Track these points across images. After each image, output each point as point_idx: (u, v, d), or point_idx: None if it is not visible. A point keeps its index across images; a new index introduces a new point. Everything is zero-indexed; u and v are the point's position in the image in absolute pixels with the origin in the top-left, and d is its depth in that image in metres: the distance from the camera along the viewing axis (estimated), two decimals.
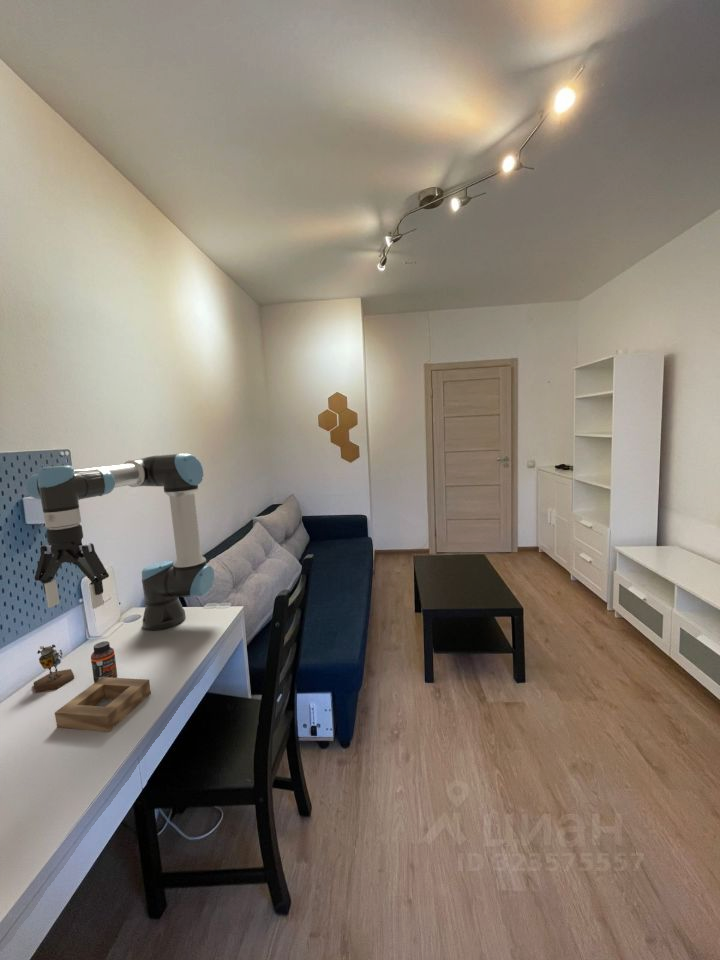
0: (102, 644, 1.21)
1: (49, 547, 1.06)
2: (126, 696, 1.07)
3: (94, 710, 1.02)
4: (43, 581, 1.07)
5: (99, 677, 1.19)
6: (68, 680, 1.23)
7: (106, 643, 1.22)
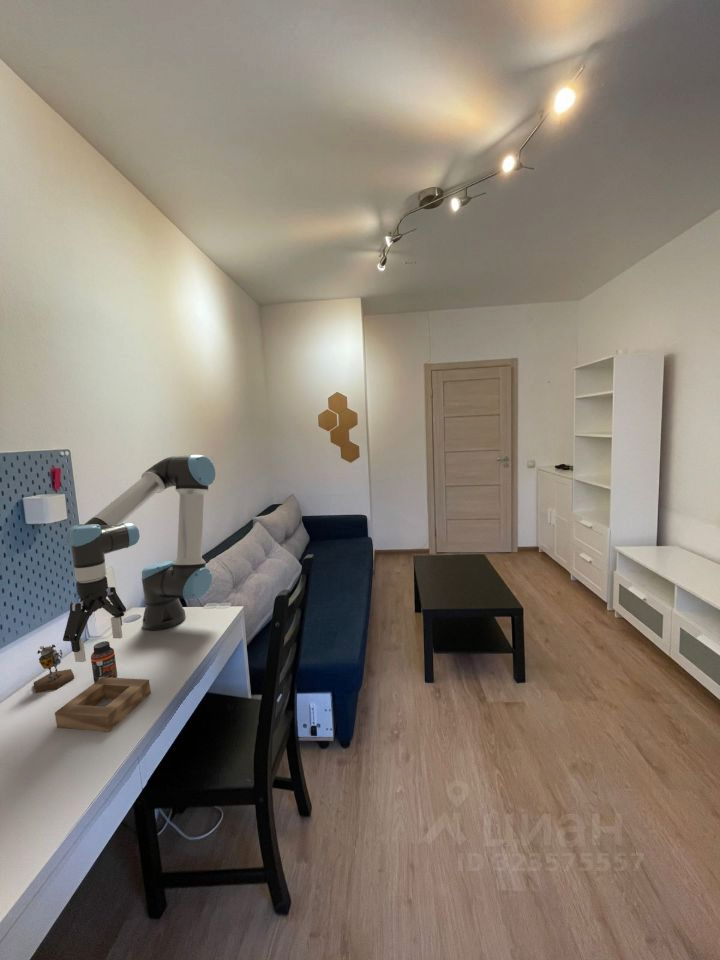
0: (101, 644, 1.21)
1: None
2: (126, 696, 1.07)
3: (94, 710, 1.02)
4: None
5: (99, 677, 1.19)
6: (68, 680, 1.23)
7: (106, 643, 1.22)
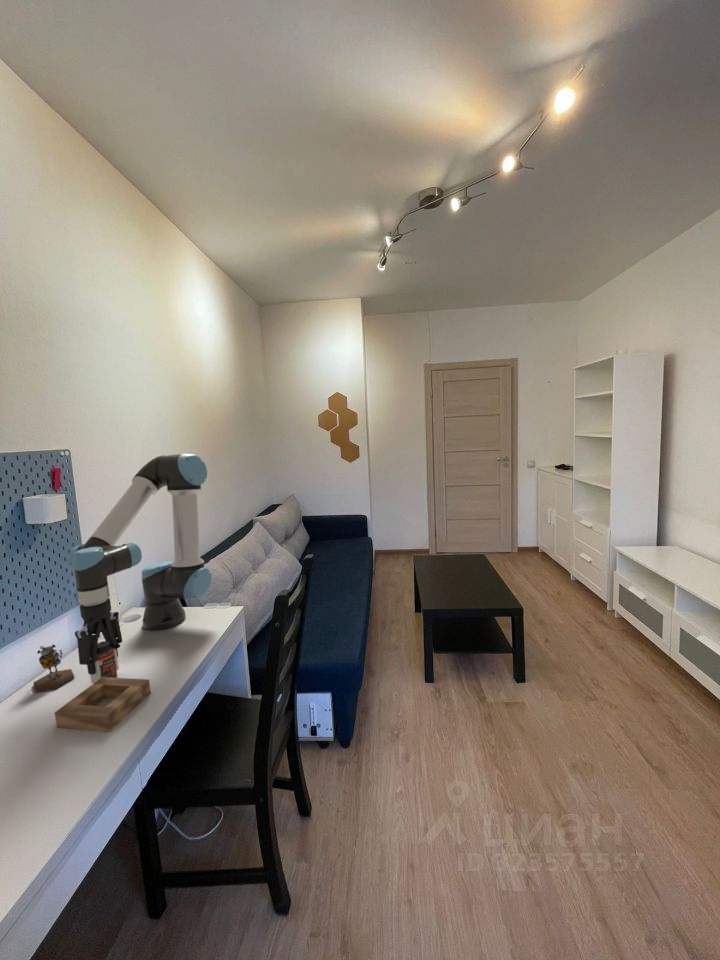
0: (101, 644, 1.21)
1: None
2: (126, 696, 1.07)
3: (94, 710, 1.02)
4: None
5: None
6: (68, 680, 1.23)
7: (106, 643, 1.22)
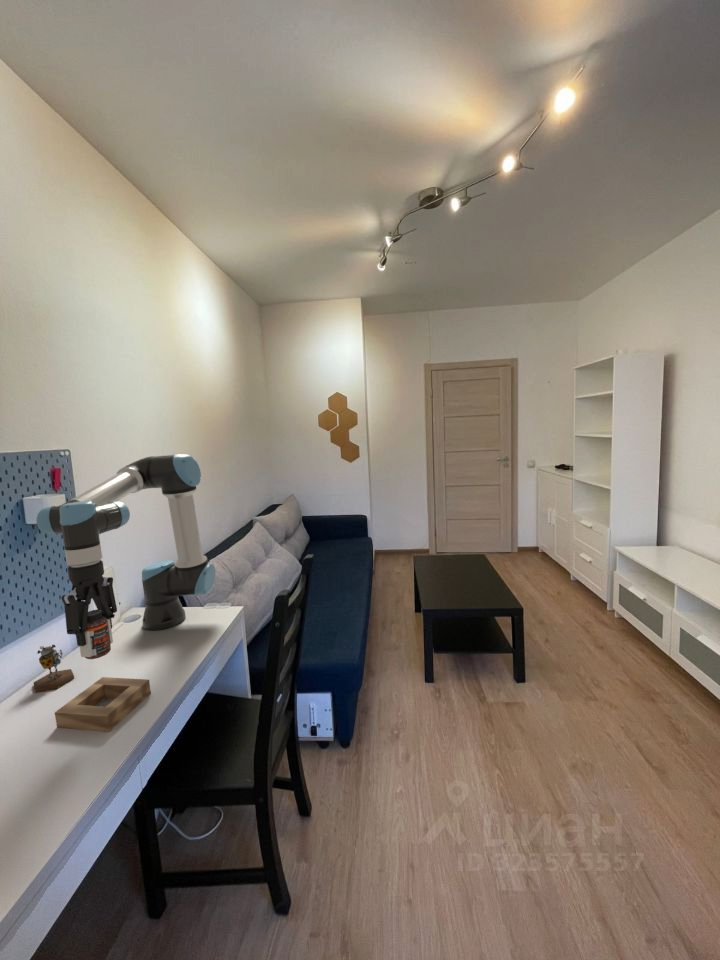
0: (93, 612, 1.06)
1: None
2: (126, 696, 1.07)
3: (94, 710, 1.02)
4: None
5: None
6: (68, 680, 1.23)
7: (98, 611, 1.06)
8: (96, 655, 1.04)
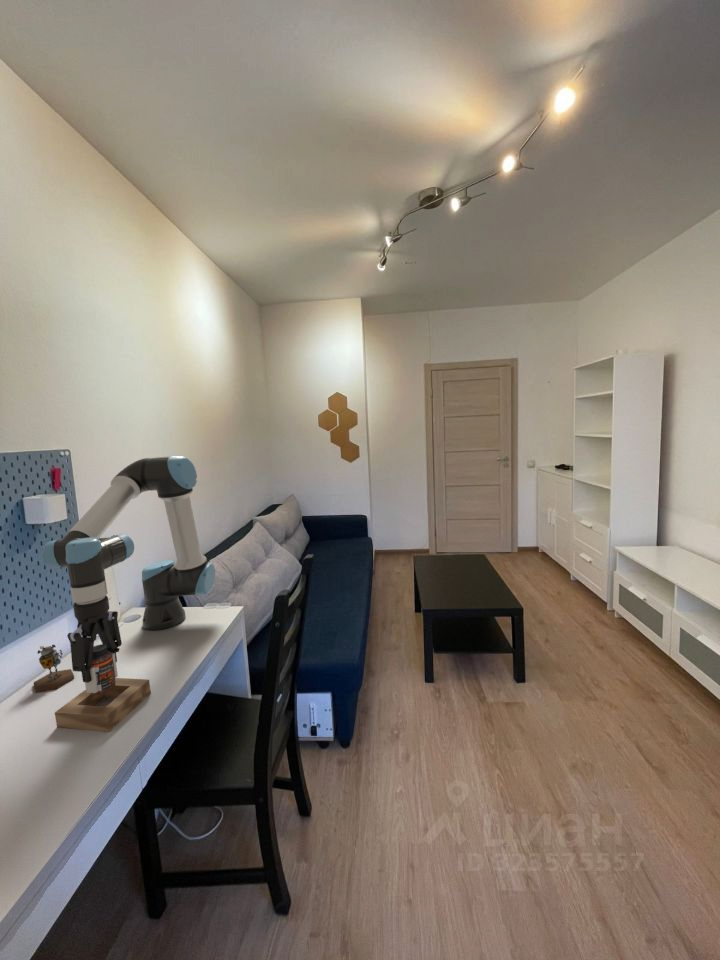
0: (98, 647, 1.07)
1: None
2: (126, 696, 1.07)
3: (94, 710, 1.02)
4: None
5: None
6: (68, 680, 1.23)
7: (103, 646, 1.07)
8: (101, 690, 1.05)
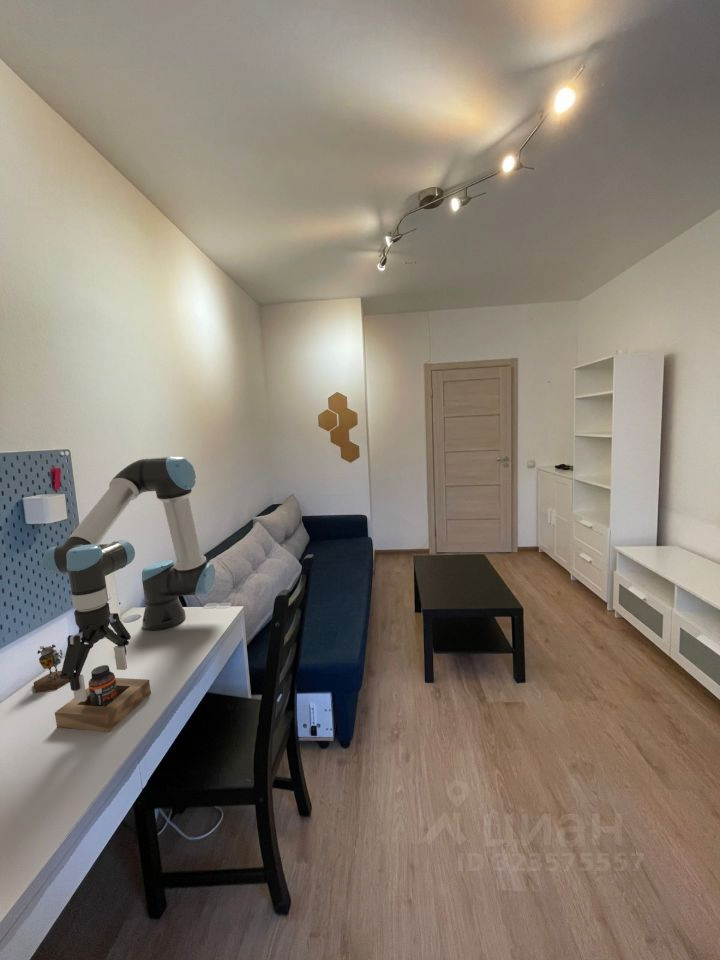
0: (100, 669, 1.07)
1: None
2: (126, 696, 1.07)
3: (94, 710, 1.02)
4: None
5: None
6: (68, 680, 1.23)
7: (105, 668, 1.08)
8: None
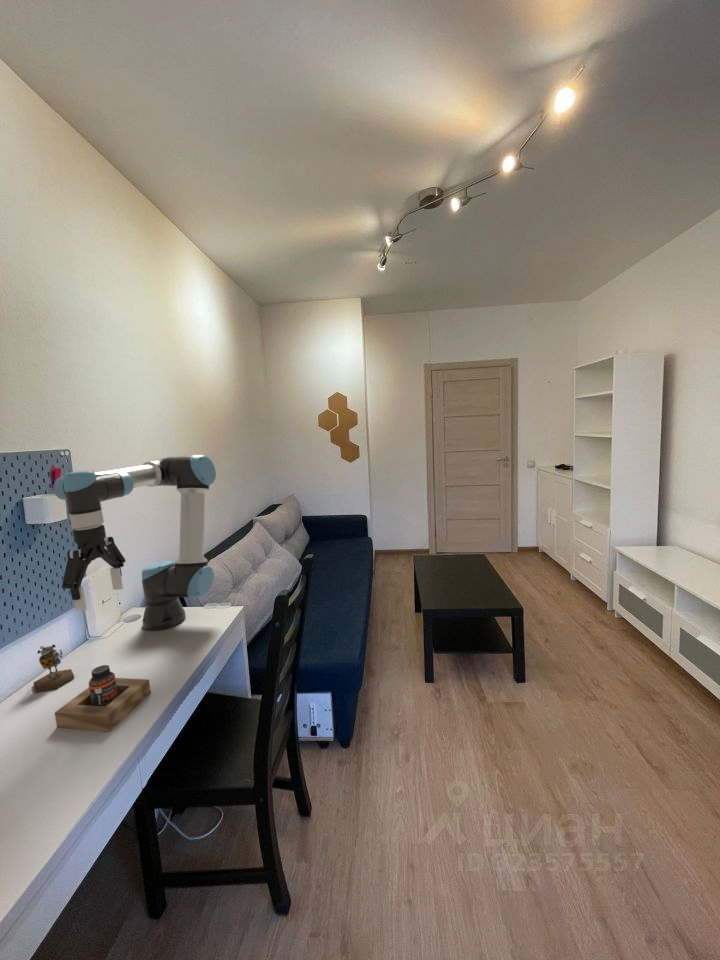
0: (101, 669, 1.07)
1: None
2: (126, 696, 1.07)
3: (94, 710, 1.02)
4: None
5: None
6: (68, 680, 1.23)
7: (106, 668, 1.08)
8: None
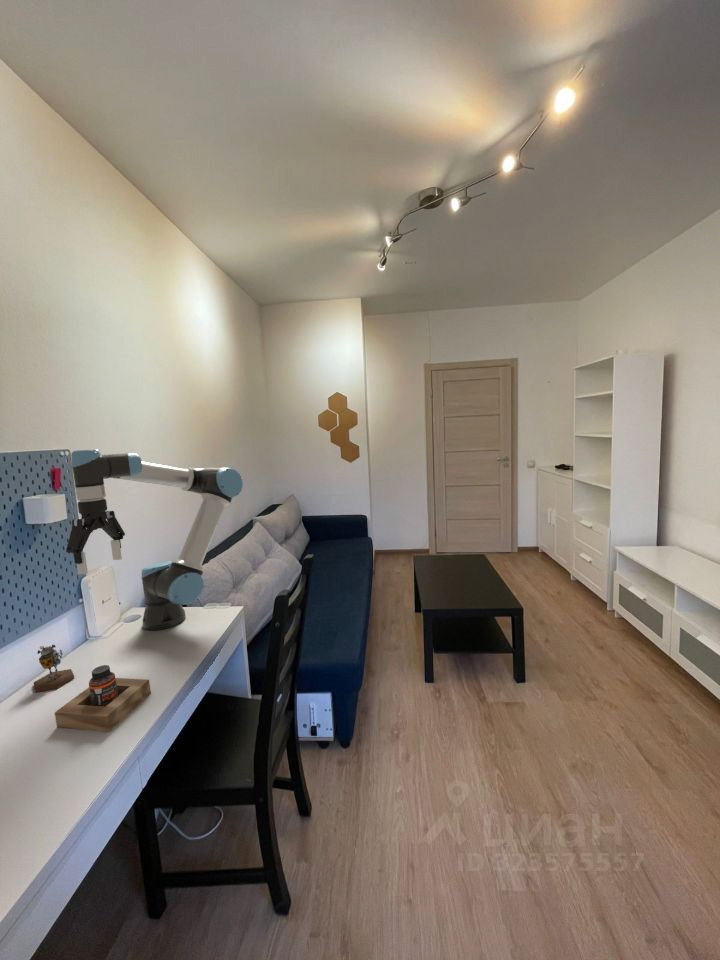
0: (101, 669, 1.07)
1: None
2: (126, 696, 1.07)
3: (94, 710, 1.02)
4: None
5: None
6: (68, 680, 1.23)
7: (106, 668, 1.08)
8: None
